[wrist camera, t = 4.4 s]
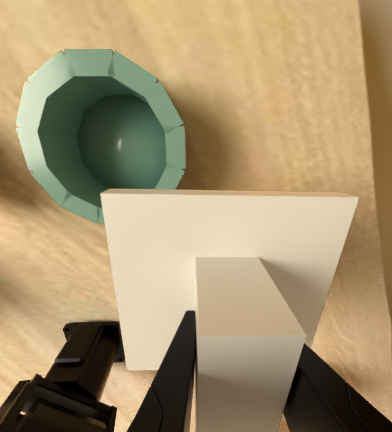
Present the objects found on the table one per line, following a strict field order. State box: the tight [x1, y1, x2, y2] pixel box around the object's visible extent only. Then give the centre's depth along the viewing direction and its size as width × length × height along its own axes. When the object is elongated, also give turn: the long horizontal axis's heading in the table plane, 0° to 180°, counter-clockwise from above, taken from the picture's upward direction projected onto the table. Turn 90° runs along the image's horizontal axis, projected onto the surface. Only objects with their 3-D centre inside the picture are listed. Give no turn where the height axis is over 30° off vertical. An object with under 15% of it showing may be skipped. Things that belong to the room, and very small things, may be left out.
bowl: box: [15, 49, 187, 224], centre depth 14 cm, size 10×10×5 cm
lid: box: [100, 189, 359, 432], centre depth 8 cm, size 11×11×5 cm
